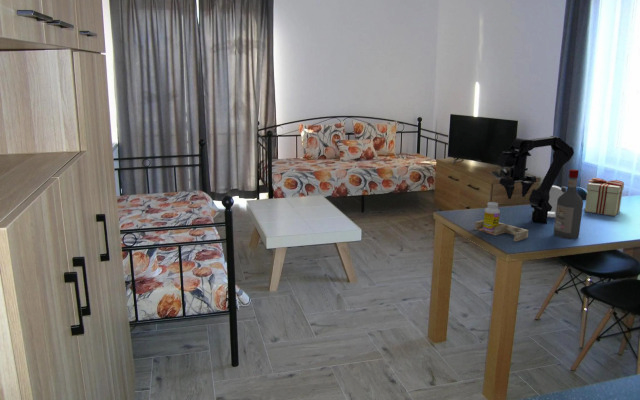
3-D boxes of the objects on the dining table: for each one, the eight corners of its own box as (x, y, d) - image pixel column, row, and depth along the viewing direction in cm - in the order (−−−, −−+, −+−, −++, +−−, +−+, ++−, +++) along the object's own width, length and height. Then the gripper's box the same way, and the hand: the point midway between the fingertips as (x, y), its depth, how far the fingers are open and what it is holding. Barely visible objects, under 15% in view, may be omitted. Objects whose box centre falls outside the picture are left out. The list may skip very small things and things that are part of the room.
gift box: (620, 209, 285) (625, 177, 281) (618, 217, 270) (622, 183, 265) (585, 204, 294) (589, 174, 289) (581, 212, 279) (585, 179, 274)
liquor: (566, 239, 234) (575, 172, 227) (550, 234, 242) (558, 168, 235) (581, 237, 238) (590, 171, 230) (565, 231, 246) (573, 167, 238)
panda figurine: (563, 213, 276) (567, 184, 273) (562, 218, 267) (565, 189, 263) (539, 210, 282) (542, 182, 278) (536, 215, 272) (539, 186, 268)
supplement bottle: (492, 233, 242) (495, 205, 238) (480, 229, 246) (482, 203, 243) (500, 230, 246) (503, 203, 243) (488, 227, 251) (490, 200, 247)
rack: (527, 237, 237) (528, 230, 236) (516, 241, 232) (516, 233, 231) (486, 226, 254) (486, 219, 253) (474, 229, 248) (475, 222, 248)
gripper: (519, 161, 261) (516, 192, 265) (491, 164, 252) (489, 196, 256) (538, 165, 251) (535, 197, 255) (510, 168, 243) (507, 201, 247)
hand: (516, 197), depth 254 cm, fingers open, 9 cm apart
